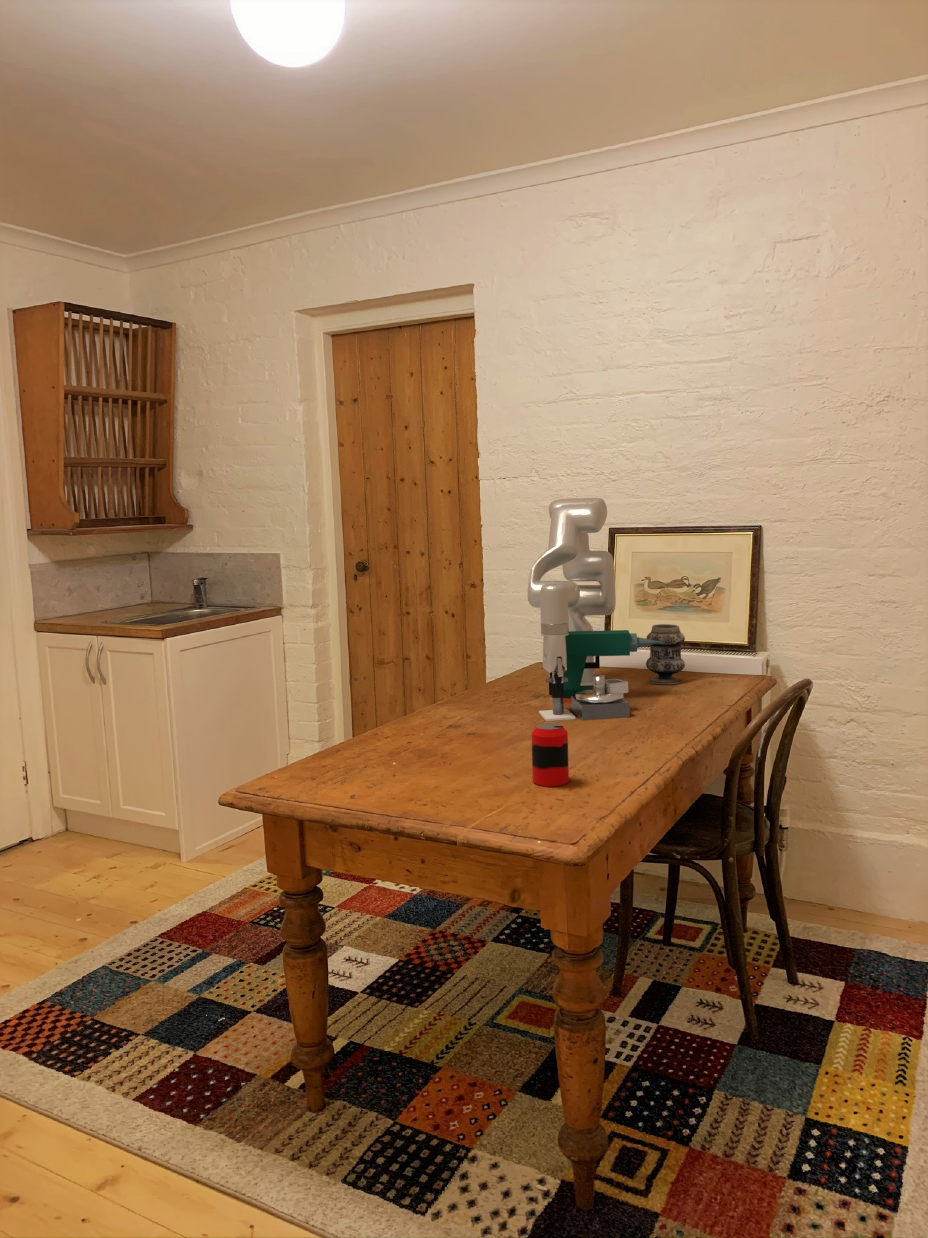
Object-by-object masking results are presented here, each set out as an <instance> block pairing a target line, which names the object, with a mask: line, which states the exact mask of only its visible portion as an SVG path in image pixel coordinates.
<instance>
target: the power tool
mask: <svg viewBox="0 0 928 1238" xmlns="http://www.w3.org/2000/svg"><path fill="white" fill-rule="evenodd" d="M565 639H566V655H567V669H566V671H565V672H563V677H568V682H563V683H564V697H563V704H566V703H567V704H568V703H570V704H571V696H575V695H576V693H577V692H580V691H585V690H593V685H586V686H580V685H581V680H582V676H583V672H584V669H594V670H595V669H601V666H600V663H601V662H600V661H601V660H600V657H617V656H618V657H619V656H620V657H622V656H623V657H624V656H627V657H629V656H631V653H635V652H636V653H637V652H638V649H639V648H642V647H646V646H647V647H648V646H650V645H652V644H657V643H661V642H660V641H655V640H650V639H647V638H643V637H638V633H636V632H635V633H633V632H632V633H631V632H630V631H629V630H628V629H621V630H620V629H618V630H617V629H615V630H593V631H569V635H567V636H565ZM587 656H594V660H595V661H594V662H586V659H587Z"/></svg>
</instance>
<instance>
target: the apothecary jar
mask: <svg viewBox="0 0 928 1238" xmlns="http://www.w3.org/2000/svg"><path fill="white" fill-rule="evenodd" d="M685 638H686V636H685V635H684V633H682V632H681V629H680V626H679V625H677V624H667V623H666V624H665V623H664V624H662V623H659V624H653V625H651V630H650V632H649V633H648V634H647V635H646V639H650V640H655V641H660V642H661V643H657V644H652V645H649V647H650V652H649V654H650V655H649V657H648V659H647V660H646V662H645V667H646V668H647V669H648V670H649V671H650V672H651V673H655V674H657V675H658V676H655V677H653V678H651V679H649V683H651V684H654V685H662V686H664V685H666V686H669V685H678V684H681V683H682V680H681V678H678V677H676V676H673V674H678V673H679V672H681V671H683V670H684V669H685V667H686V662H685V661H684V660H683V659H682V644H683V643H684V642H685Z"/></svg>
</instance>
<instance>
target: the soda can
mask: <svg viewBox="0 0 928 1238" xmlns="http://www.w3.org/2000/svg"><path fill="white" fill-rule="evenodd" d="M568 733H569V732H568V730H566V729H565V727H564V725H563V724H561V723H556V722H555V723H554V722H545V723H539V724H537V725H535V727H534V728H533V730H532V731H531V733H530V734H531V756H532V757H531V759H532V760H531V761H532V762H531V765H532V766H531V768H532V782H533V783H534V784H535V785H537V786H540V787H547V788H553V787H554V788H555V787H561V786H565V785H566V784H567V783H568V782H569V781H570V780H569V779H570V778H569V777H570V775H569V772H570V771H569V769H570V768H569V737H568V736H569V734H568Z"/></svg>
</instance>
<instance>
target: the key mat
mask: <svg viewBox="0 0 928 1238" xmlns="http://www.w3.org/2000/svg"><path fill="white" fill-rule="evenodd" d="M538 714H539V715H540V716H541V717H542V718H543V719H544V720H545V722H551V721H569V720H576V716H575V715H574V714H573V713H572V712H571V711H570V710H569V709H567V708H564V714H563V715H554V714H553V709H550V710H549V709H548V710H547V709H546V710H545V709H543V710H538Z"/></svg>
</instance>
